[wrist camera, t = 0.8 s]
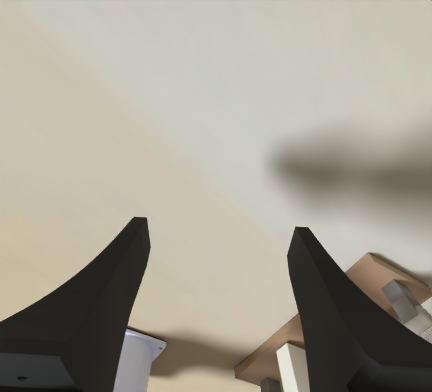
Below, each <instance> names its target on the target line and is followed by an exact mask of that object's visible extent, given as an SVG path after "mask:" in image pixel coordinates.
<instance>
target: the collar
mask: <svg viewBox="0 0 432 392" xmlns="http://www.w3.org/2000/svg"><path fill="white" fill-rule="evenodd" d="M276 353H277V358H278V363H279V368H280V373H281V378H282V384H283V389H284V392H310V387H309V378H308V369H307V361H306V353H305V350H304V349H302V348H299V347H296V346H294V345H291V344H289V343H286V344H285V345H283V346H282V347H281V348H280V349H279V350H277V351H276Z"/></svg>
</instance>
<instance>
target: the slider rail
mask: <svg viewBox="0 0 432 392" xmlns="http://www.w3.org/2000/svg"><path fill="white" fill-rule="evenodd" d="M345 274H346V275H347V276H348V277H349V278H350V279H351V280H352V281H353V282H354V283H355V284H356V285H357V286H358V287H359V288H360V289H361V290H362V291H363V292H364V293H365V294H366V295H367V296H368V297H369V298H371V299H372V300H373V301H374V302H375V303H376V304H378V305H379V306H380V307H381V308H382V309H384V310H385V311H386V312H387V313H388V314H390V315H391V316H392V317H394V318H395V319H396V320H397V321H399V322H400V323H402V324H403V325H404V326H406V327H407V328H408V329H410V330H411V331H413V332H414V333H415V334H417V335H419V334H420V333H422V332H423V331H425V330H427V329H428V328H430V327H431V326H432V316H431V315H430V314H429V313H428V312H427V311H426V310H425V309H424V308H423V307H422V306H421V305H420V304H422V303H423V302H425V301H426V300H428V299H429V298H430V297H432V290H431V289H430V288H429V287H428V285H426V284H424V283H422V282H420V281H419V280H417V279H415V278H413V277H411V276H410V275H408V274H406V273H404V272H402V271H400V270H399V269H397V268H395V267H393V266H391V265H390V264H388V263H386V262H384V261H382V260H380V259H379V258H377V257H375V256H373V255H371V254H370V253H367V254H366V255H365V256H364V257H363V258H361V259H360V260H359V261H358V262H357V263H356V264H354V265H353V266H352V267H351V268H350V269H349V270H348V271H346V272H345ZM286 343H289V344H291V345H294V346H296V347H299V348H302V349H304V350H305V345H304V338H303V331H302V325H301V320H300V316H299V313H298V314H297V315H296V316H295V317H294V318H292V319H291V320H290V321H289V322H288V323H287V324H286V325H284V326H283V327H282V328H281V329H280V330H279V331H277V332H276V333H275V334H274V335H273V336H272V337H271V338H269V339H268V340H267V341H266V342H265V343H264V344H263V345H261V346H260V347H259V348H258V349H257V350H256V351H254V352H253V353H252V354H251V355H250V356H249V357H248V358H246V359H245V360H244V361H243V362H242V363H241V364H240V365H238V366H237V367H236V368H235V378H237V379H240V380H243V381H246V382H249V383H252V384H255V385H258V386H261V392H284V389H283V384H282V378H281V373H280V368H279V363H278V358H277V353H276V351H277V350H279V349H280V348H281V347H282V346H283V345H285V344H286Z"/></svg>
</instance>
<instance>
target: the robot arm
mask: <svg viewBox="0 0 432 392" xmlns="http://www.w3.org/2000/svg"><path fill="white" fill-rule="evenodd" d="M150 248H151V246H150V239H149V231H148V223H147V218H145V217H134V218H132V219H131V221H130V222H129V223H128V224H127V225H126V226H125V228H124V229H123V230H122V231H121V232H120V233H119V234H118V235H117V237H116V238H115V239H114V240H113V241H112V242H111V243H110V244H109V245H108V246H107V247H106V248H105V249H104V250H103V251H102V252H101V253H100V254H99V255H98V256H97V257H96V258H95V259H94V260H93V261H91V262H90V263H89V264H88V265H87V266H86V267H85V268H83V269H82V270H81V271H80V272H79V273H77V274H76V275H75V276H74V277H72V278H71V279H70V280H68V281H67V282H65V283H64V284H63V285H61V286H60V287H59V288H57V289H56V290H54V291H53V292H51V293H50V294H48V295H47V296H45V297H43V298H42V299H40V300H39V301H37V302H35V303H34V304H32V305H30V306H29V307H27V308H25V309H23V310H22V311H20V312H18V313H16V314H14V315H12V316H10V317H9V318H7V319H5V320H3V321H1V322H0V392H147V386H148V381H149V375H150V370H151V364H152V362H153V361H154V360H155V359H156V358H157V357H158V356H159V354H160V353H161V352H162V351H163V350H164V349H165V348H166V342H164V341H161V340H158V339H156V338H153V337H150V336H147V335H144V334H141V333H138V332H135V331H132V330H129V329H127V325H128V321H129V317H130V313H131V310H132V307H133V304H134V301H135V298H136V295H137V293H138V290H139V287H140V284H141V281H142V278H143V275H144V272H145V269H146V266H147V262H148V258H149V253H150ZM287 259H288V268H289V275H290V280H291V284H292V288H293V292H294V296H295V300H296V304H297V308H298V312H299V316H300V320H301V325H302V331H303V338H304V345H305V353H306V361H307V369H308V378H309V387H310V392H432V344H431V343H429V342H428V341H426V340H425V339H423V338H422V337H420V336H418V335H417V334H415V333H414V332H413V331H411V330H410V329H408V328H407V327H406V326H404V325H403V324H402V323H400V322H399V321H397V320H396V319H395V318H394V317H392V316H391V315H390V314H388V313H387V312H386V311H385V310H384V309H382V308H381V307H380V306H379V305H378V304H376V303H375V302H374V301H373V300H372V299H371V298H369V297H368V296H367V295H366V294H365V293H364V292H363V291H362V290H361V289H360V288H359V287H358V286H357V285H356V284H355V283H354V282H353V281H352V280H351V279H350V278H349V277H348V276H347V275H346V274H345V273H344V272H343V271H342V269H341V268H340V267H339V266H338V265H337V264H336V262H335V261H334V260H333V259H332V258H331V256H330V255H329V254H328V253H327V251H326V250H325V249H324V248H323V246H322V245H321V244H320V242H319V241H318V240H317V238H316V237H315V236H314V234H313V233H312V232H311V230H310V229H309V228H308V227H295V230H294V234H293V237H292V240H291V244H290V247H289V251H288V254H287Z"/></svg>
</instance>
